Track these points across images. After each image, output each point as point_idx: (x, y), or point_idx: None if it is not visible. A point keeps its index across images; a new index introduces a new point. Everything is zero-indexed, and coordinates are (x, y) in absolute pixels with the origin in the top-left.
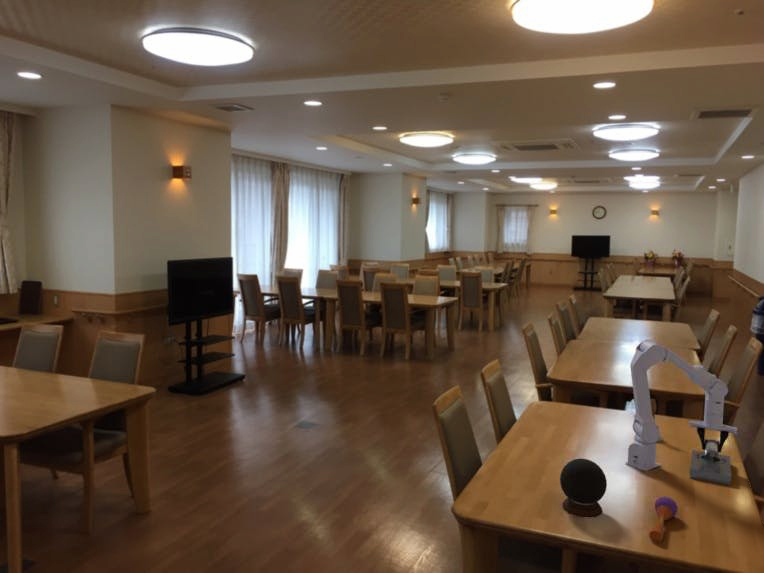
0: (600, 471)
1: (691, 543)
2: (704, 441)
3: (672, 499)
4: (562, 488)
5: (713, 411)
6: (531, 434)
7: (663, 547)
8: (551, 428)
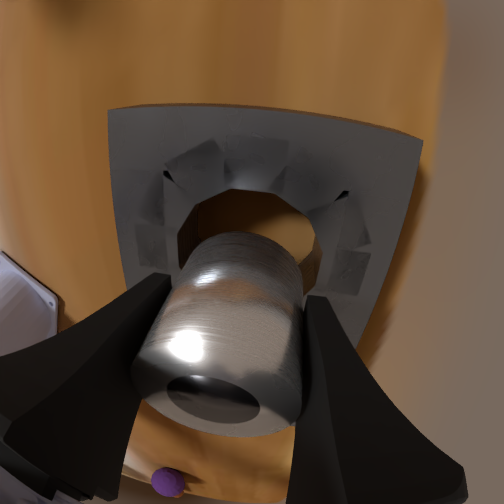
0: (85, 499)
1: (213, 491)
2: (136, 338)
3: (172, 494)
4: None
5: None
6: None
7: (187, 490)
8: None
